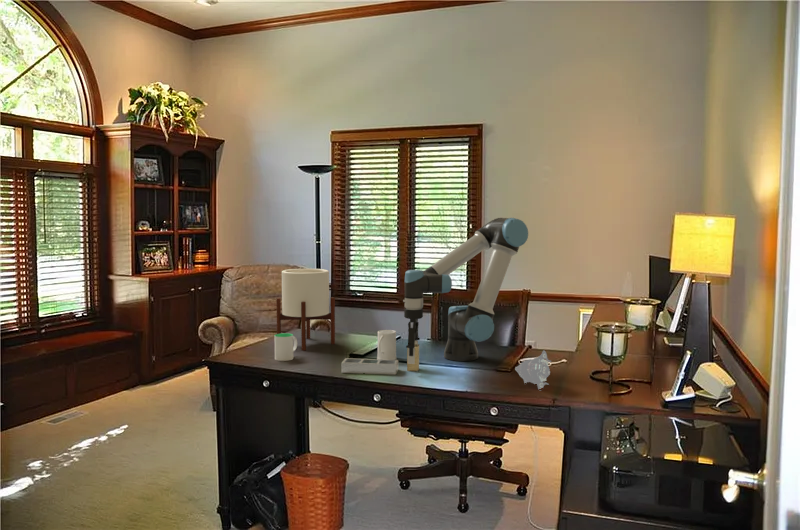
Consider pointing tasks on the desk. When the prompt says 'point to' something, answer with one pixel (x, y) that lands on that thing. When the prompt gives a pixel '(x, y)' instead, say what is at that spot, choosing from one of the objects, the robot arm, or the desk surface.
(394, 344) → the mug
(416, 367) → the brass block
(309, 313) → the plant pot with stand
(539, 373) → the figurine
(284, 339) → the mug
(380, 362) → the grey compartment tray
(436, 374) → the desk surface
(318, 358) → the desk surface
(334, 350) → the desk surface
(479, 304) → the robot arm
